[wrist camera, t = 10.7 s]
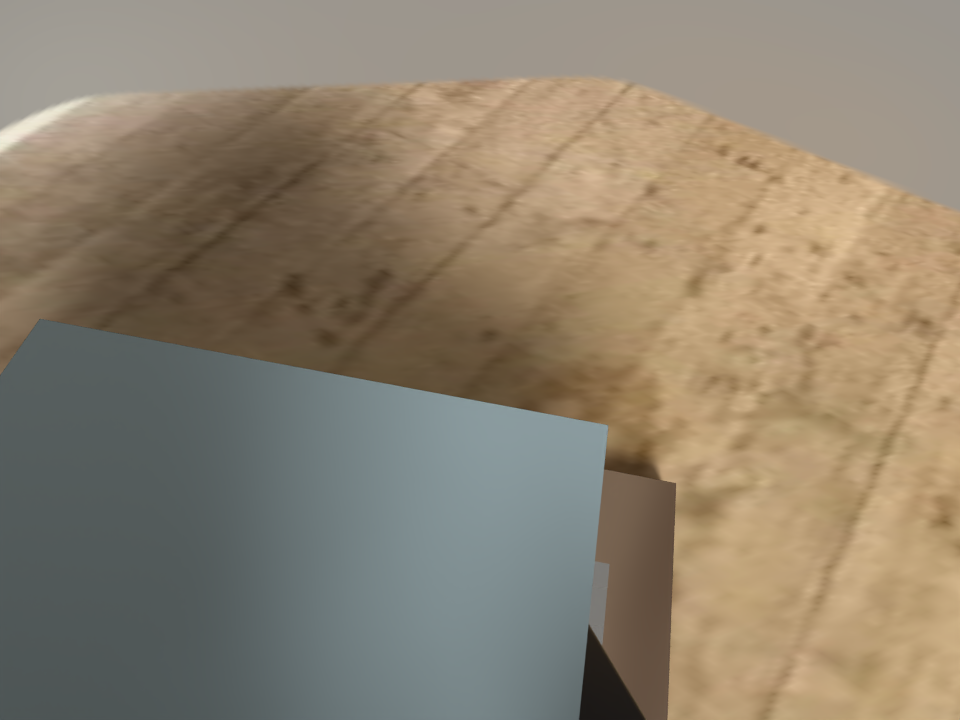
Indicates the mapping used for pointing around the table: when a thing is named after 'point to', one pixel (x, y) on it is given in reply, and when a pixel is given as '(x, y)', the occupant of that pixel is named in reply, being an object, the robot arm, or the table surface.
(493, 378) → the table surface
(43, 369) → the light blue pillar
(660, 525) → the docking socket
